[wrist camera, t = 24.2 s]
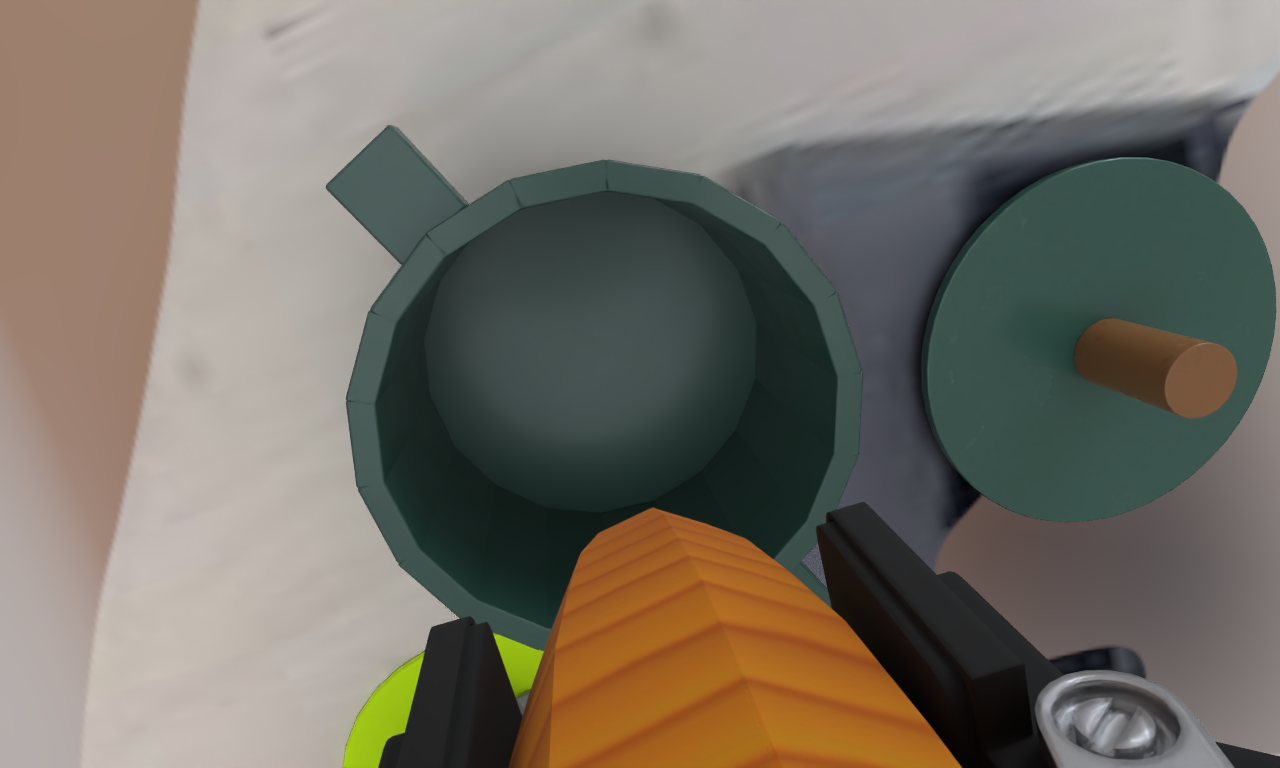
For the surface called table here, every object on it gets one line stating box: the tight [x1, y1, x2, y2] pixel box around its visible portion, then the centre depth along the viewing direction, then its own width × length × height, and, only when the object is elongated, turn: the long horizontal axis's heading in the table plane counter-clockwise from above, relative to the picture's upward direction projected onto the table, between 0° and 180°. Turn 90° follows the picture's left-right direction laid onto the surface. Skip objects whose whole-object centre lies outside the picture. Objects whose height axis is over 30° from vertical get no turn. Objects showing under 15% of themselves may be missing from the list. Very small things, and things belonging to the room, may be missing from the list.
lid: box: [921, 157, 1276, 522], centre depth 31 cm, size 16×16×6 cm
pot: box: [326, 125, 863, 651], centre depth 27 cm, size 15×20×10 cm
